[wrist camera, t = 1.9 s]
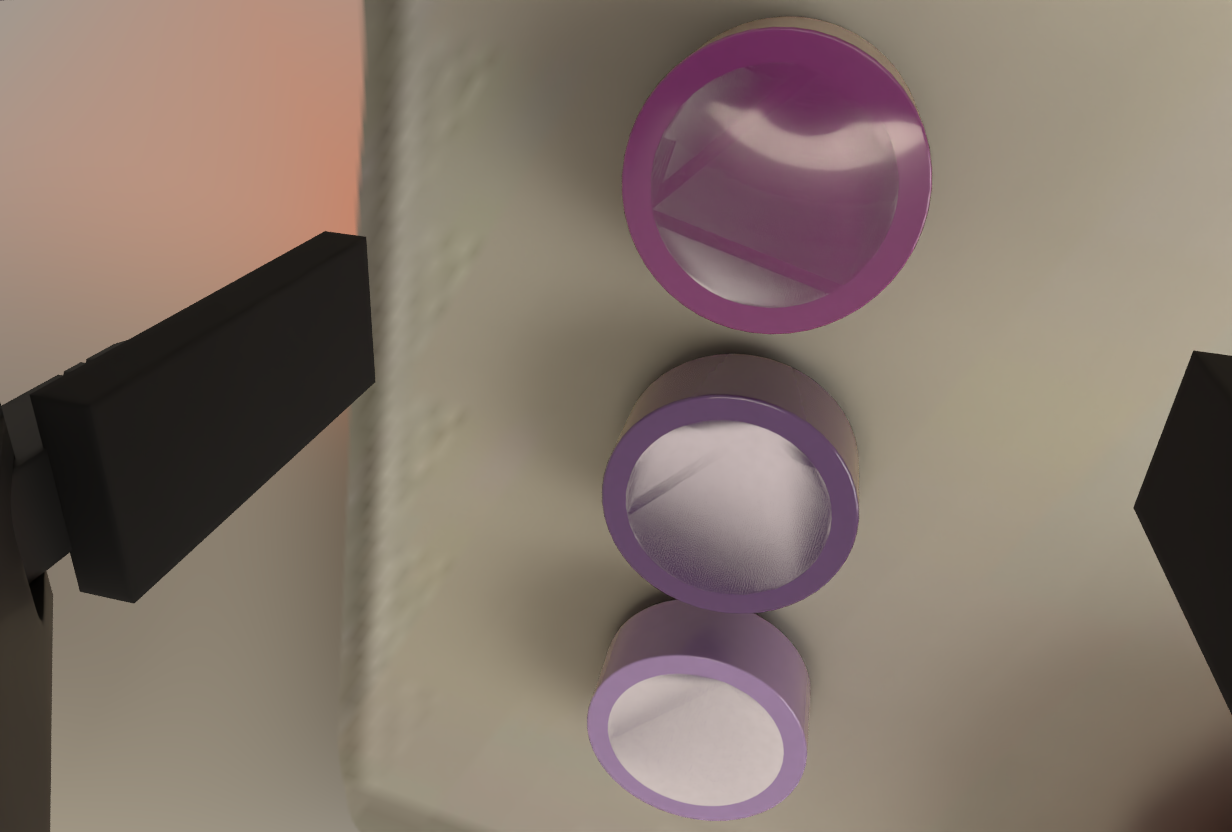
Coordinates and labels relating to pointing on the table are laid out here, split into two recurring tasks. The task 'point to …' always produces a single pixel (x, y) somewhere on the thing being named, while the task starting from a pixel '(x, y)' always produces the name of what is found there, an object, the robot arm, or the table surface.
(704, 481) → the dish middle
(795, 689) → the dish
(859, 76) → the dish
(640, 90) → the table surface
